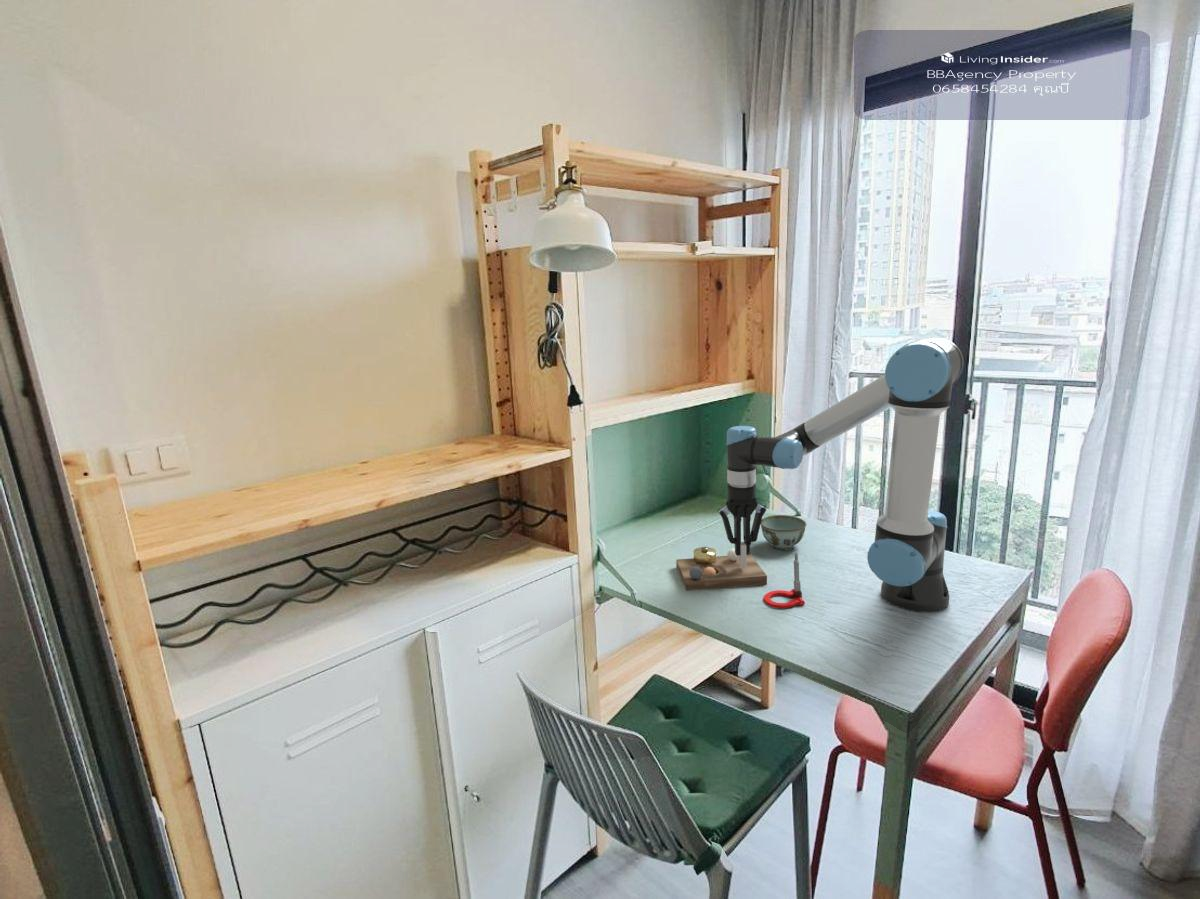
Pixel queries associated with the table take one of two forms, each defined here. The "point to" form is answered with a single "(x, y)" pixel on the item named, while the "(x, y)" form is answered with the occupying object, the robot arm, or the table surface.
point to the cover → (705, 555)
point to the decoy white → (732, 555)
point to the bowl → (783, 531)
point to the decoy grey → (695, 572)
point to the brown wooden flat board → (722, 573)
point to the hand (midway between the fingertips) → (742, 565)
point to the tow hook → (793, 593)
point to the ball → (709, 571)
